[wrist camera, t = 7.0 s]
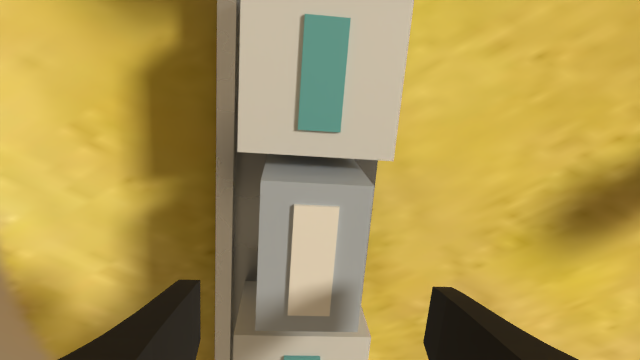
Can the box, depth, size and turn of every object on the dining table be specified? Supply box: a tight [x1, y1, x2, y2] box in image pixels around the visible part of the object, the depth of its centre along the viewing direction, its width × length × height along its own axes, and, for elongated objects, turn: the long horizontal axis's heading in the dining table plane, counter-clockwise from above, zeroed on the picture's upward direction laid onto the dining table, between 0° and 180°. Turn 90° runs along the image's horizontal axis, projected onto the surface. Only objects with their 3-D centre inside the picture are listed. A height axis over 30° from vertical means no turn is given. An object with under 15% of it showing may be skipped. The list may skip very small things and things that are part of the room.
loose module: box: [255, 154, 374, 332], centre depth 17 cm, size 6×4×6 cm, turn 176°
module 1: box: [237, 0, 414, 161], centre depth 16 cm, size 6×6×5 cm
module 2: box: [233, 281, 371, 360], centre depth 20 cm, size 6×6×5 cm
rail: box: [215, 0, 378, 360], centre depth 20 cm, size 22×8×2 cm, turn 176°
